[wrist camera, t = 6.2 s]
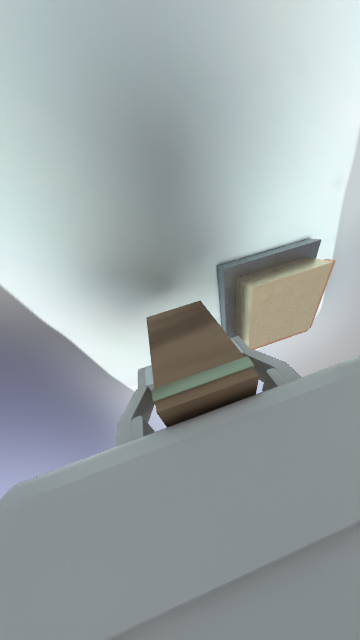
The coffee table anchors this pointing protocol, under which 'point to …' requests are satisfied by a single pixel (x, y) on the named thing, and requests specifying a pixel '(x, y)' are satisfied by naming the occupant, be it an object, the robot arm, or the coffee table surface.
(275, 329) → the stand
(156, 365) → the walnut column
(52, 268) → the coffee table surface
